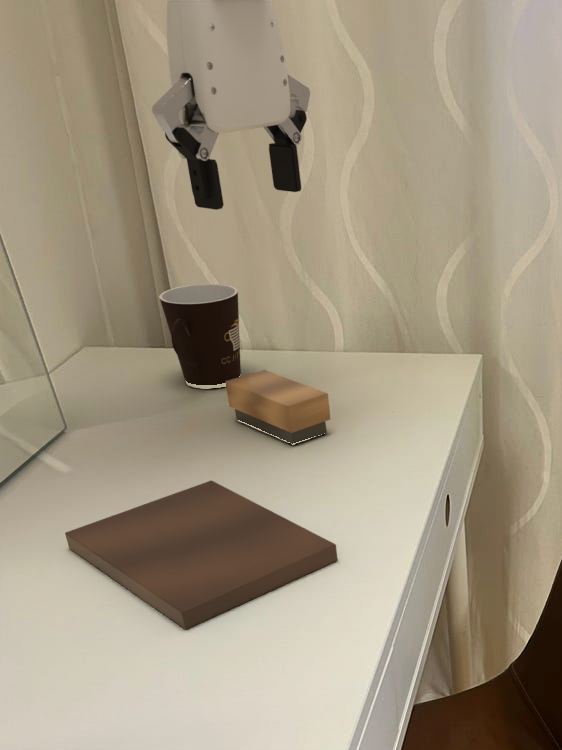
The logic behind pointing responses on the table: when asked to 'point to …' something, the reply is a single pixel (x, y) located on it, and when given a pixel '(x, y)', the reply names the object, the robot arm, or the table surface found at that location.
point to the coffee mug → (204, 331)
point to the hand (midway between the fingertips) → (250, 198)
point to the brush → (279, 405)
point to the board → (200, 551)
